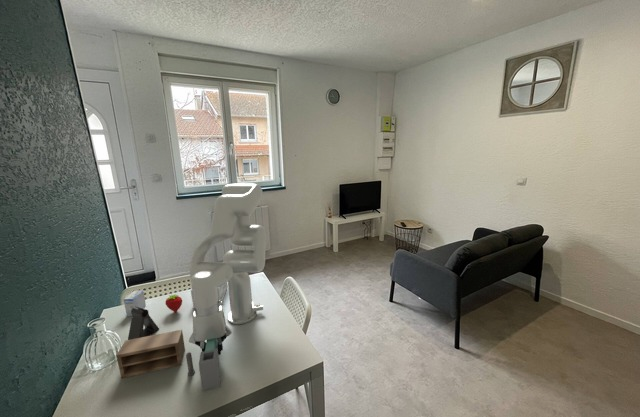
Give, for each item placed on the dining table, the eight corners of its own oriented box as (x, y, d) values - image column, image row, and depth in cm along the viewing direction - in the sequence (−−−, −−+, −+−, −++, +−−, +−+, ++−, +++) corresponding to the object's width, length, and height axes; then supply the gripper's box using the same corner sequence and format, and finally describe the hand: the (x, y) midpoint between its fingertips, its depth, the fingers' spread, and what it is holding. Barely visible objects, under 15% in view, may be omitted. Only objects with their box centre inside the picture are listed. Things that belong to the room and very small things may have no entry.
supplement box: (203, 289, 141) (201, 273, 139) (228, 287, 143) (226, 271, 141) (192, 307, 125) (190, 290, 123) (220, 305, 126) (218, 287, 124)
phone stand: (137, 344, 101) (132, 317, 99) (127, 340, 104) (122, 313, 101) (159, 329, 109) (154, 304, 107) (149, 326, 112) (145, 301, 109)
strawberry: (177, 316, 118) (174, 297, 115) (163, 315, 119) (160, 295, 117) (187, 309, 123) (184, 290, 121) (173, 307, 125) (170, 288, 123)
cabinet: (199, 347, 99) (197, 326, 97) (194, 374, 87) (191, 351, 85) (129, 362, 92) (125, 340, 91) (113, 394, 80) (107, 370, 78)
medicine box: (136, 306, 126) (133, 290, 124) (146, 305, 127) (143, 289, 125) (126, 316, 119) (122, 299, 117) (136, 315, 119) (133, 298, 117)
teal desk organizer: (219, 386, 82) (216, 359, 80) (202, 390, 81) (198, 364, 79) (223, 337, 104) (220, 315, 102) (210, 340, 102) (207, 318, 100)
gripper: (233, 297, 93) (237, 340, 97) (182, 305, 88) (189, 351, 92) (232, 308, 86) (237, 355, 90) (177, 319, 81) (184, 368, 85)
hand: (213, 353), depth 91 cm, fingers open, 3 cm apart
